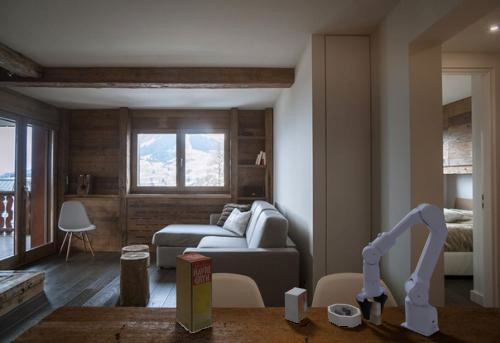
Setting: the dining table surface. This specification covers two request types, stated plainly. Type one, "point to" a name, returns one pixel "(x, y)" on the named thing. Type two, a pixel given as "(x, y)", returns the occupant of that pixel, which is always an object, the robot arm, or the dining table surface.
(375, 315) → the wood grain plank
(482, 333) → the dining table surface
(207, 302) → the food packaging
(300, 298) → the small box
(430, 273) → the robot arm
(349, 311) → the clip
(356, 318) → the bowl
